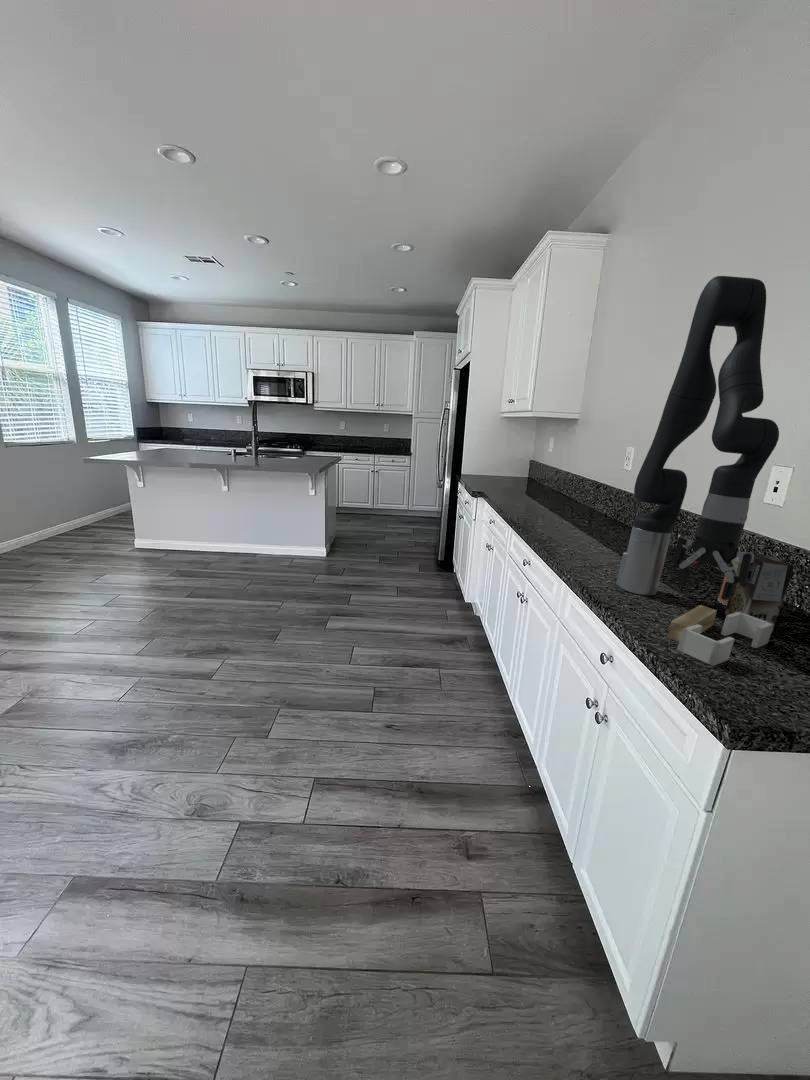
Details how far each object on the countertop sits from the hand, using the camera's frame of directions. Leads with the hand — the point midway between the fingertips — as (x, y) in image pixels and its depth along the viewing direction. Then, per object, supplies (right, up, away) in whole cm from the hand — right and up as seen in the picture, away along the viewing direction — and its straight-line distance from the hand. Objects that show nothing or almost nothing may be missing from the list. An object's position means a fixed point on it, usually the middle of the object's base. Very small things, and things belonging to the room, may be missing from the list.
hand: (702, 591), depth 93 cm
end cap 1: (-6, -11, -8) cm, 15 cm away
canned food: (+26, -7, +22) cm, 35 cm away
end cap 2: (+10, -10, +1) cm, 14 cm away
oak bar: (-1, -9, +3) cm, 10 cm away
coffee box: (+18, -9, +11) cm, 23 cm away
